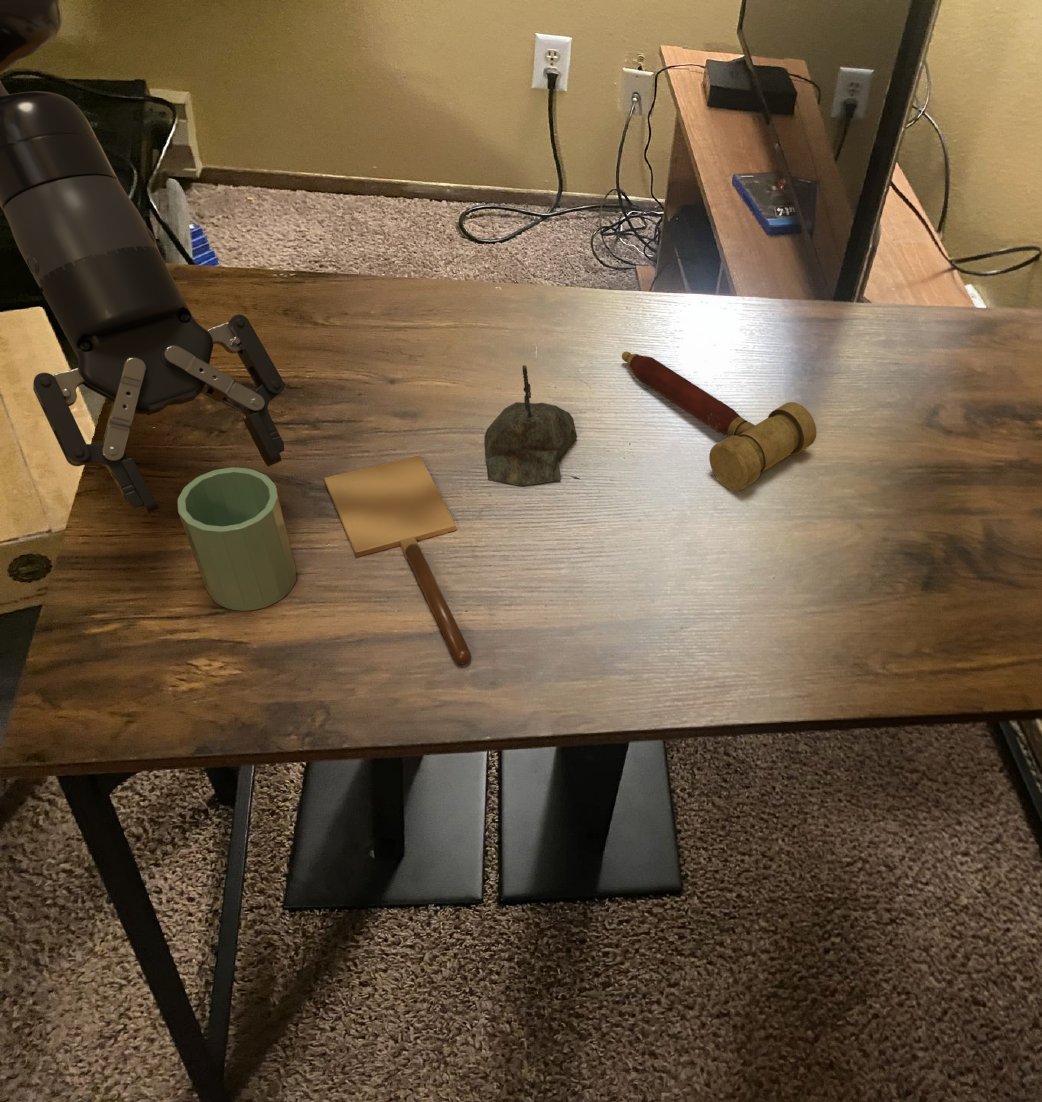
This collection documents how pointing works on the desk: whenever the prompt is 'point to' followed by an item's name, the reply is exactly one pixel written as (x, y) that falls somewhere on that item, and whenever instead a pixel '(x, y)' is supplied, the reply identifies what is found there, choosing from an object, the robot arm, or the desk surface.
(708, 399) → the gavel
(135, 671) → the desk surface
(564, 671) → the desk surface
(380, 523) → the spatula
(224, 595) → the pot
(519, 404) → the sword in stone
